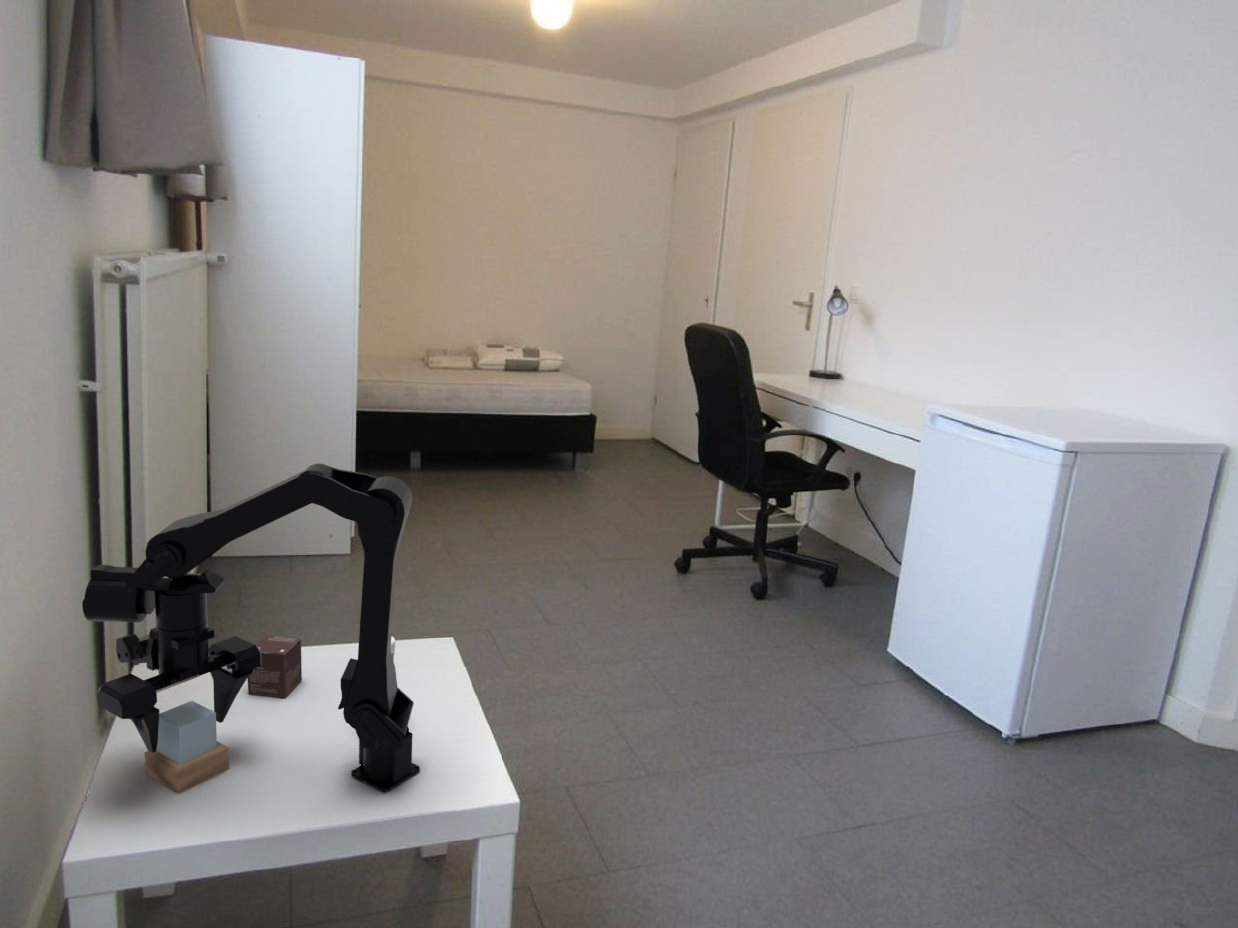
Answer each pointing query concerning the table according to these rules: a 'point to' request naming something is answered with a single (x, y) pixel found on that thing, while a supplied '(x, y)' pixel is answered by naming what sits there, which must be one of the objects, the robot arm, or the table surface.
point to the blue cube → (186, 732)
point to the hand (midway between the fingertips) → (186, 735)
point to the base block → (186, 768)
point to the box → (277, 666)
